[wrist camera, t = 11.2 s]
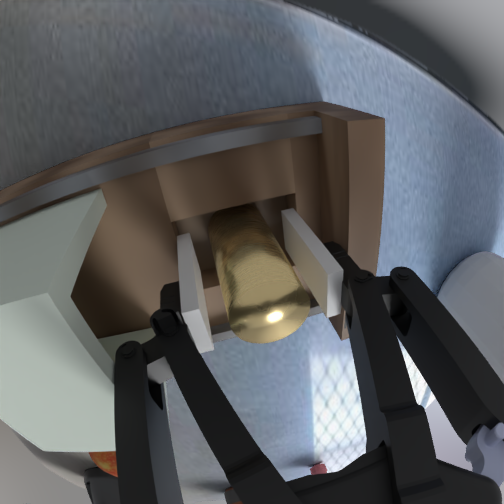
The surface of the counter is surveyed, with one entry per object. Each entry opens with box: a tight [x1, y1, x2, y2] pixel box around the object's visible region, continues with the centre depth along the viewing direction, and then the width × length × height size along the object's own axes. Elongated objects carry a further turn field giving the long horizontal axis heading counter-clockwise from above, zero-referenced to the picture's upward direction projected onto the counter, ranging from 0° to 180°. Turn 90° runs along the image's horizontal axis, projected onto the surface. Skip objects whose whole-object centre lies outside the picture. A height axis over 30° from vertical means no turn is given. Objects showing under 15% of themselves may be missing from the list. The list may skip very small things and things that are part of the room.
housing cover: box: [0, 188, 170, 452], centre depth 13 cm, size 9×11×8 cm
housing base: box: [0, 102, 385, 343], centre depth 17 cm, size 24×14×6 cm, turn 98°
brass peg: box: [208, 203, 310, 343], centre depth 16 cm, size 4×4×8 cm
